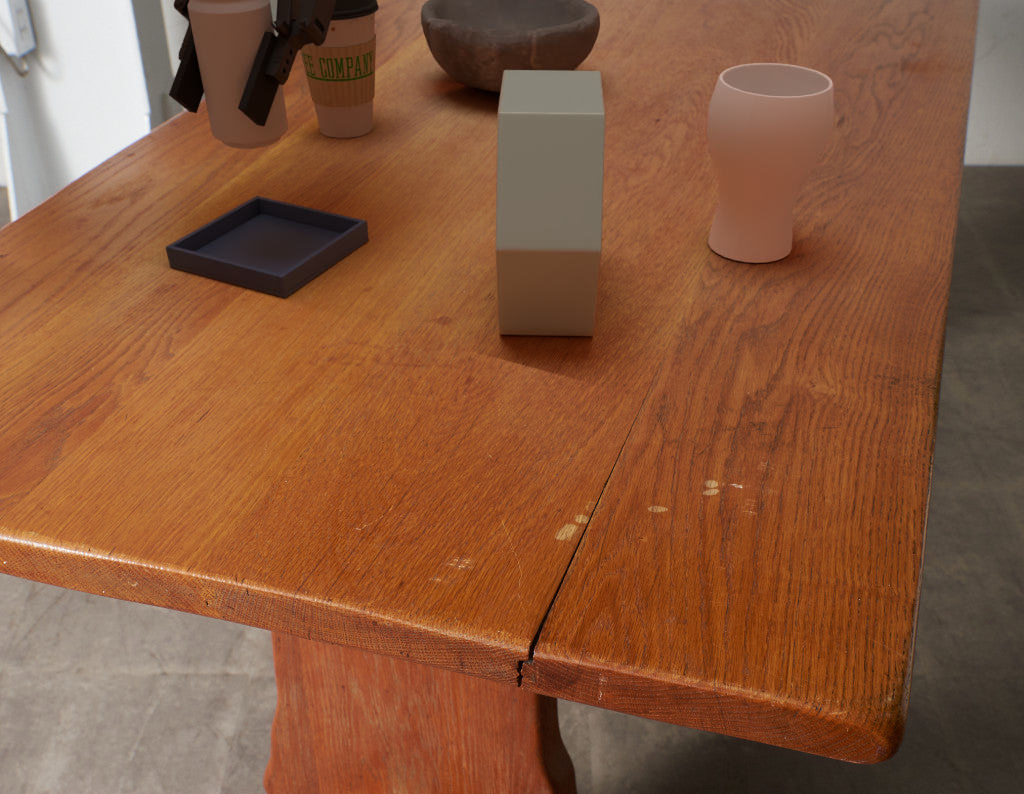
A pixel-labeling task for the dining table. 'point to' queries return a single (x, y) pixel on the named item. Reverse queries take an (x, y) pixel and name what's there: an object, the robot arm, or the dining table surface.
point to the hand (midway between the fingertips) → (216, 110)
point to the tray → (268, 245)
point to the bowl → (508, 37)
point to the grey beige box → (549, 201)
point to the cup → (764, 153)
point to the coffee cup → (344, 70)
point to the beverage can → (234, 68)
